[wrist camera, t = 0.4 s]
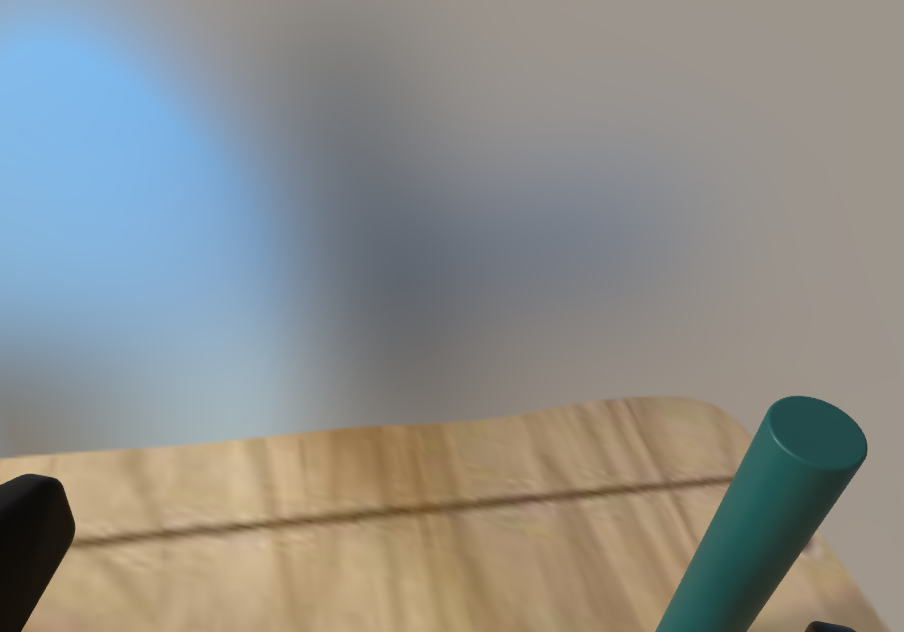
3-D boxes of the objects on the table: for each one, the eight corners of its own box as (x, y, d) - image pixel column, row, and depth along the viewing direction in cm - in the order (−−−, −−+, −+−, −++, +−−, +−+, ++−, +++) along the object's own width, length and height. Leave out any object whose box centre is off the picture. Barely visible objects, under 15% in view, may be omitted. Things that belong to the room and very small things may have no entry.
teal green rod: (697, 727, 23) (880, 477, 14) (633, 713, 23) (775, 459, 14) (693, 664, 24) (856, 403, 16) (633, 651, 24) (761, 387, 16)
